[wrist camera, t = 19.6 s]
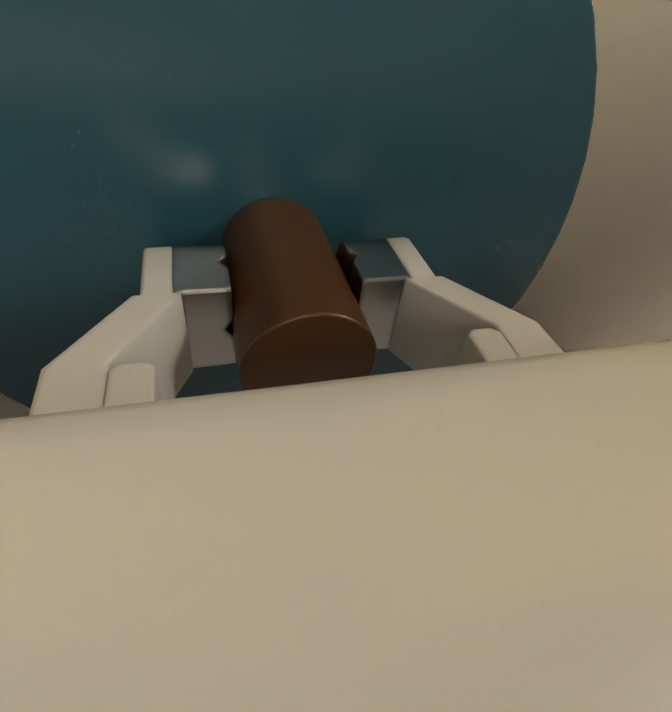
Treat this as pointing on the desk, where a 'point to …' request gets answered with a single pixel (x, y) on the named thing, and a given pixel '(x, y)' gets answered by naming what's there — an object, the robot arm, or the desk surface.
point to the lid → (279, 161)
